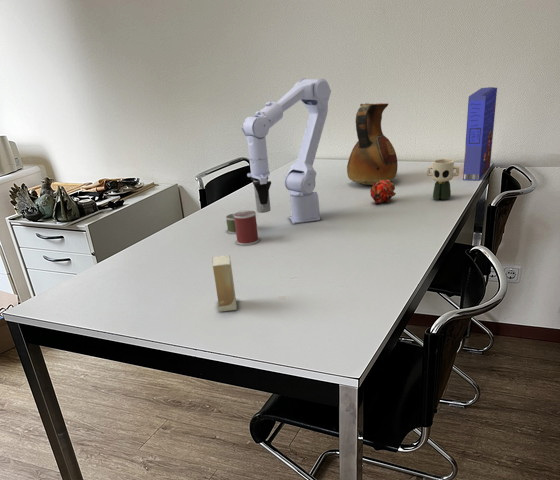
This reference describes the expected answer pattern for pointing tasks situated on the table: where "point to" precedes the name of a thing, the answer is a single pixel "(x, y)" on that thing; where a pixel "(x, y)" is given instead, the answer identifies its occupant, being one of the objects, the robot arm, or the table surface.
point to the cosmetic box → (224, 283)
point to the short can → (231, 223)
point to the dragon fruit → (382, 191)
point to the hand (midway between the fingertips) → (262, 202)
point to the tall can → (246, 227)
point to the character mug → (442, 177)
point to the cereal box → (479, 133)
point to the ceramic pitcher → (371, 148)
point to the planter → (260, 208)
